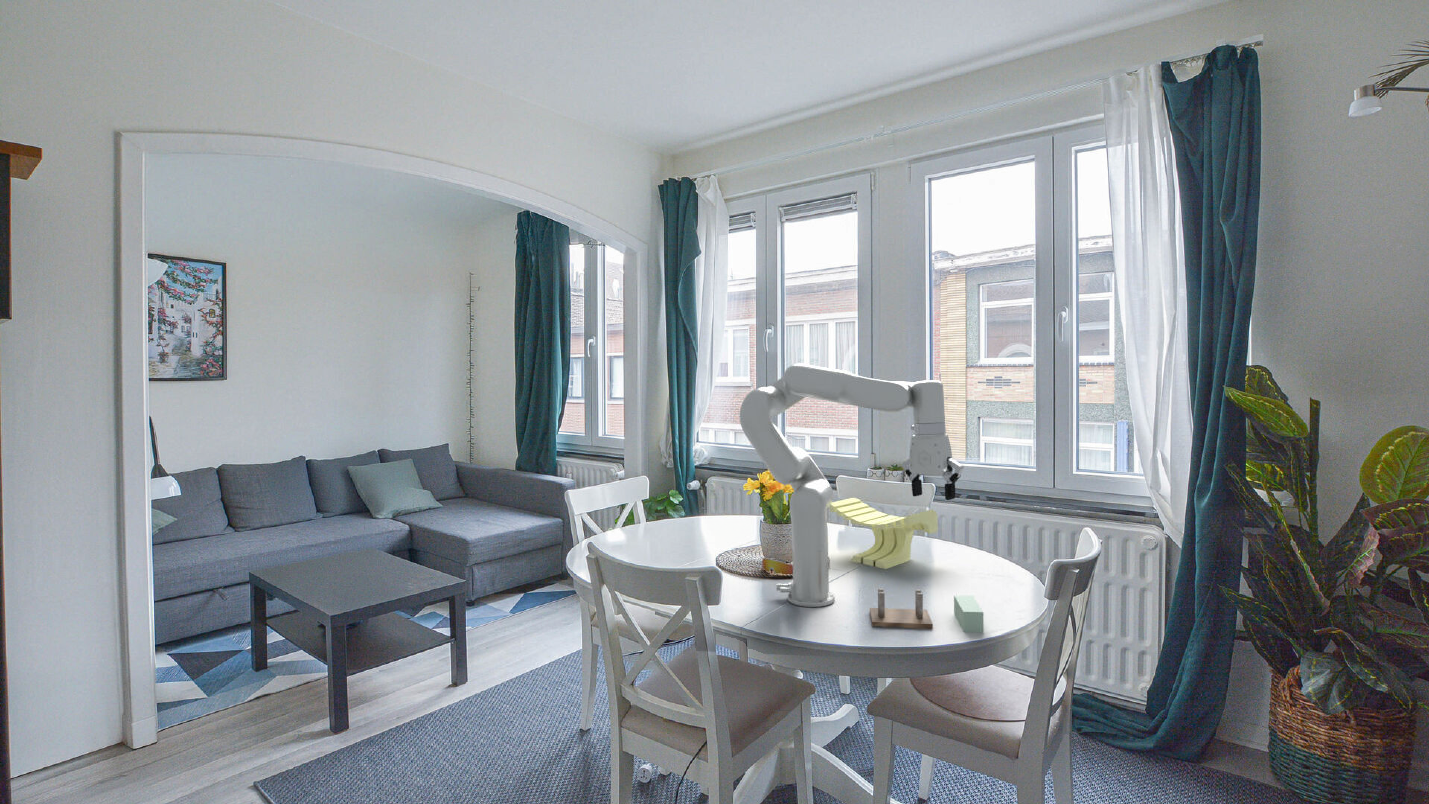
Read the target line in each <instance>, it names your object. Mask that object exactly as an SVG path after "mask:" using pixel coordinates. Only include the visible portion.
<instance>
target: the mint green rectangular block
mask: <svg viewBox="0 0 1429 804" xmlns="http://www.w3.org/2000/svg"><path fill="white" fill-rule="evenodd" d="M953 615H954V617H955V619H956V618H957V619H956V620H958V621H957V622H958V624H959V627H960V629H961V630H962V632H963V633H983V632H984V611H983V609H982V607H981V606H980V605H979V603H978V602H977V600H976V598H975V597H974V595H957V594H956V595H953Z"/></svg>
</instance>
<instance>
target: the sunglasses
mask: <svg viewBox="0 0 1429 804" xmlns="http://www.w3.org/2000/svg"><path fill="white" fill-rule="evenodd" d="M773 559H774V558H770V559H769V557H762V559H761V560H762V561H761V562H762V563H761V564H762V569H763V568H764V569H765V570H766V571H772V572H773V573H774V574H775V573H782V574H793V563H792V564H791V563H786V562H782V561H778V560H773Z"/></svg>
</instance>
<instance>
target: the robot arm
mask: <svg viewBox="0 0 1429 804" xmlns="http://www.w3.org/2000/svg"><path fill="white" fill-rule="evenodd" d="M944 392H945V391H944V384H943V383H942V381H940V380H937V379H936V380H920V381H916V382H911V381H890V380H889V381H888V380H883V379H882V380H881V379H876V378H869V377H865V376H860V375H857V374H854V373H852V372H851V371H846V370H841V369H834V368H827V367H823V366H815V365H811V364H809V363H794V364H792V365H790V366H788V367H787V368H786V369H785V371H784V373H783V376H782V377H781V378H779V379H777V380H776V381H774V382H773V383H771V384H770V385H769V386H762V387H756V388H754V389H752V390H751V391H749V392H748V393H747V395H746V396H745V397H744V399H743V401H742V403H741V406H740V409H739V421H740V422H739V423H740V426H741V429H742V431H743V434H744V435H745V436H746V438H747V440H748V441H749V442H750V444H751V445H752V447H753V449H754V451H756V453H757V454H758V456H759V458H760V459H761V461H762V462H763V464H764V465H765V466H766V468H767V470H768V471H769V472H770V474H771V476H772V477H773V478H774V480H776V482H778V483H779V484H781V485H785V486H786V485H787V486H788V485H790V486H791V488H792V490H793V492H792V494H791V496H790V500H789V513H790V514H789V515H790V521H791V523H790V524H791V541H792V542H791V543H792V549H791V550H792V565H793V577H792V579H791V582H788V583H780V582H779V583H778V582H776V591H780V593H788V594H787V600H788V602H790V603H791V604H793V605H795V606H796V605H797V606H800V607H806V608H817V607H825V606H829V605H831V604H833V603H834V602H835V597H836V596H835V594H834V593H832V592H831V591H829V588H830V587H829V586H830V584H829V583H830V581H829V579H830V577H829V533H828V532H829V531H828V521H827V520H828V519H827V510H828V508H830V505H831V503H832V502H834V501H833V500H834V491H833V488H832V485H831V484H830V483H829V481H828V480H827V478H826V476H825V475H824V474H823V473H822V471H821V470H820V468H819V466H817V464H816V462H815V461H814V460H813V458H812V456H811V455H809V453H808V452H807V450H804V449H802V447H799V446H792V445H791V444H790V443H789V442H788V440H787V439H786V437H785V436H784V435H783V433H782V431H781V430H780V429H779V428H778V427H777V426H776V425H775V424H774V422H773V419H772V417H777V416H778V415H779V416H780V415H781V414H782V413H784V412H786V411H787V410H789V409H790V408H791V407H793V406H794V405H796V404H798V403H799V402H800V401H802V400H804V399H806V398H809V399H817V400H822V401H826V402H830V403H838V404H842V405H846V406H847V405H849V406H855V407H860V408H864V409H870V410H876V411H882V412H886V413H887V412H888V413H899V412H902V411H903V410H908V409H909V410H910V409H912V412H913V413H912V414H913V424H912V425H911V427H910V429H911V430H912V431H913V433H914V434H913V435H911V438H910V445H909V458H908V459H907V460H905V461H903V462H902V464H901V465H902V467H903V470H904V471H905V475H906V476H907V477H908V480H909V481H911V492H912V493H911V494H912V496H913V497H919V496H922V495H923V487H922V486H923V485H922V483H923V481H922V478H921V476H928V477H929V476H930V477H942V478H943V480H944V482H945V483H944V497H945V498H944V499H945V500H946V501H950V500H954V499H955V498H956V483H957V482H958V480H959V479H960V478H961V476H962V473H963V471H964V465H962V464H961V463H959V462H958V461H956V460H955V459H953V452H952V447H951V442H950V437H949V435H948V434H947V433H946V432H947V431H946V416H945V414H946V413H945V396H944ZM953 472H954V473H953ZM920 478H921V479H920Z"/></svg>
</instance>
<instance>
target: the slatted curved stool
mask: <svg viewBox="0 0 1429 804" xmlns="http://www.w3.org/2000/svg"><path fill="white" fill-rule="evenodd" d="M829 512H831V513H836V516H838V517H843V520H844V521H849V522H850V523H849V524H850V525H857V526H862V527H868V528H871V530H872V533H873V535H874V544H873V545H872V546H871V547H870V548H869V549H867V550H865V551H863V552H861V553H859V554H855V555H853V556H852V559H851V561H850V562H854V563H859V564H863V565H866V566H869V567H875V568H880V569H883V570H884V569H885V570H886V569H890V568H893V567H895V566H899V565H901V564H903V563H907V562H909V561H910V560H911V555H912V554H911V551H912V548H911V547H912V542H913V541H912V540H913V537H914V534H915V531H920V532H922V531H924V533H927V534H930V535H931V534H934V533H938V530H939V529H938V528H939V527H938V525H939V523H938V514H937V511H936V510H934V509H929V510H925V511H924V510H923V511H921V512H917V513H914V514H910V515H908V516H896V515H889V514H887V513H884V512H883V511H882V512H881V511H879V510H877V509H875V508H874V507H872V506H871V507H870V505H869V504H867V503H865V502H863V501H862V499H858V498H857V497H850V498H846V499H842V500H841V499H840V500H836V501H832V503H831V505H830V506H829Z"/></svg>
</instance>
